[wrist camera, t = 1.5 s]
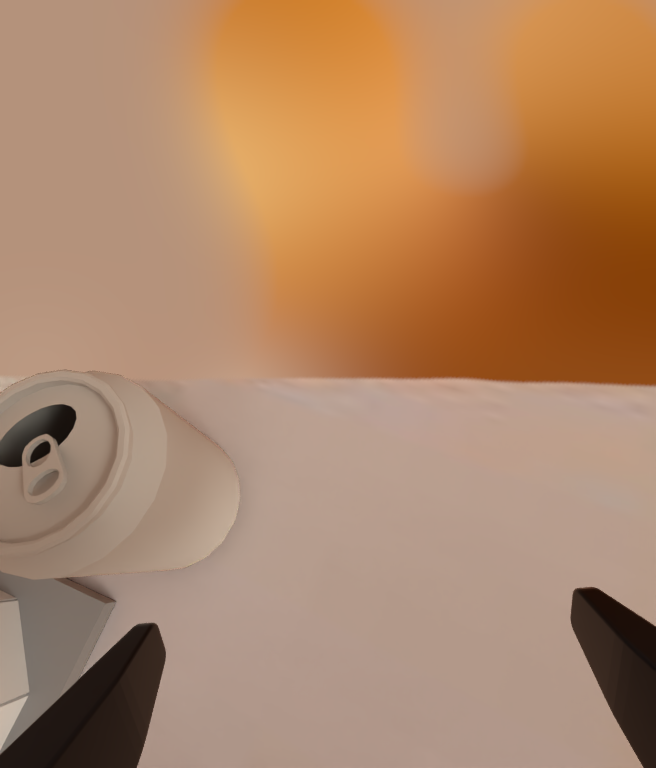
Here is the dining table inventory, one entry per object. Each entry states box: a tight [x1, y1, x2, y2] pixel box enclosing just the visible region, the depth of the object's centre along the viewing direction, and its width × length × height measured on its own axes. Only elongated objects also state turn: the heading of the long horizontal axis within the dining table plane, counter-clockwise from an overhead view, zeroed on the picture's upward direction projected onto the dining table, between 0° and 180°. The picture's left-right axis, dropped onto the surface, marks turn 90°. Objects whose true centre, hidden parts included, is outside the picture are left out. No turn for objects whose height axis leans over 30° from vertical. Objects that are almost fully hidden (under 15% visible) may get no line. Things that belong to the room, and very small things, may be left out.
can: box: [0, 370, 240, 580], centre depth 18 cm, size 8×8×12 cm
